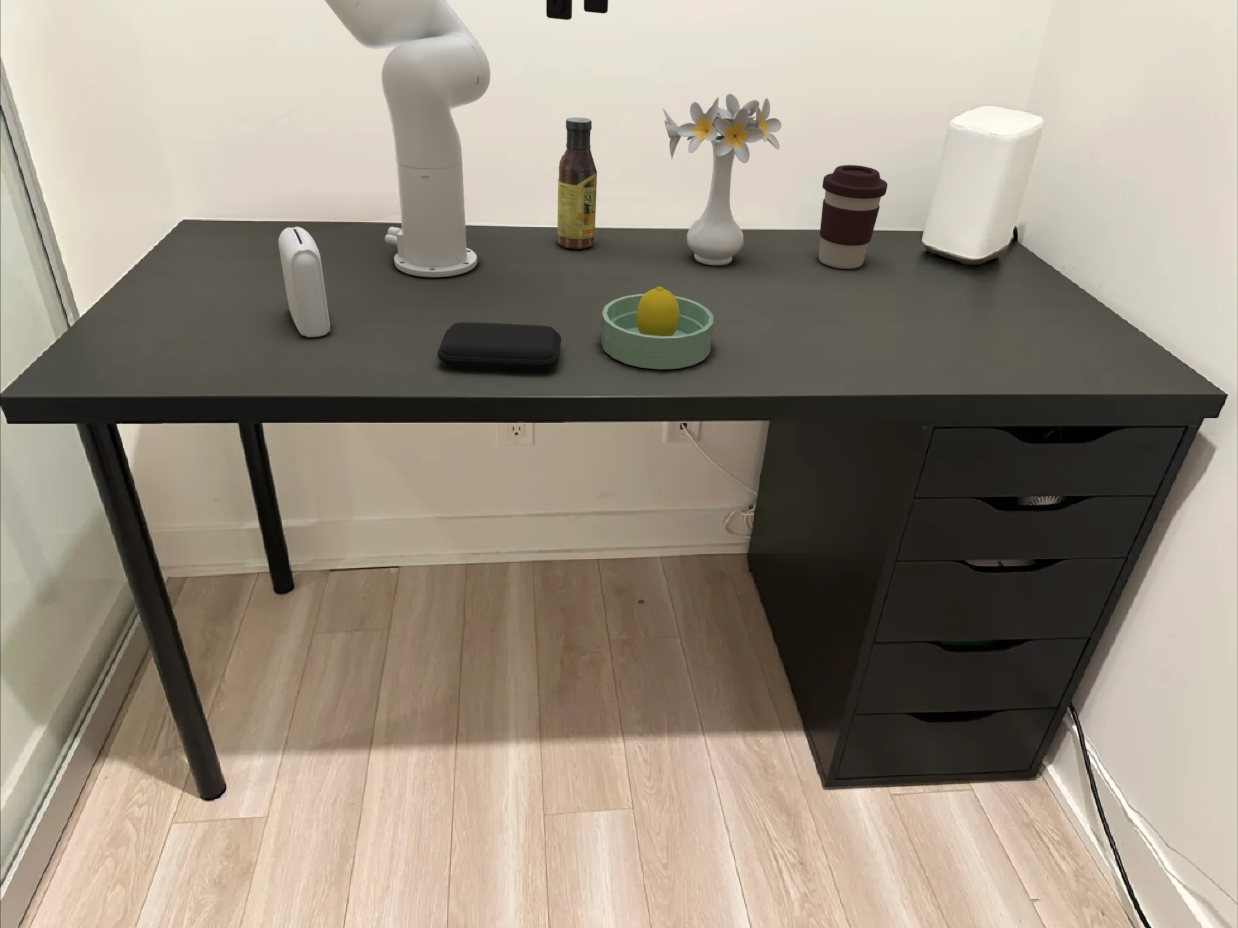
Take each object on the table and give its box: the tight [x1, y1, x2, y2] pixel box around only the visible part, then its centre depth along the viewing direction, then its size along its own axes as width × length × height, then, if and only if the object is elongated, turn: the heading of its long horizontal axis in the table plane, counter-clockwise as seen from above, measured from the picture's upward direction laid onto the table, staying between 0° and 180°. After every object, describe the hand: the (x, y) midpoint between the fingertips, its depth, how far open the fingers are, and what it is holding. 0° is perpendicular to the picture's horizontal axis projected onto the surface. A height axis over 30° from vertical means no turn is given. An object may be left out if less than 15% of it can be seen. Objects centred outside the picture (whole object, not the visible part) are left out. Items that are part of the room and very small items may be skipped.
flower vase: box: [662, 93, 783, 266], centre depth 138 cm, size 13×18×25 cm
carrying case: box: [436, 321, 562, 373], centre depth 111 cm, size 11×3×15 cm
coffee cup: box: [818, 164, 888, 270], centre depth 143 cm, size 10×10×15 cm
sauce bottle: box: [556, 117, 598, 250], centre depth 143 cm, size 6×6×20 cm
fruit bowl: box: [600, 293, 715, 370], centre depth 115 cm, size 14×14×4 cm
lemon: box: [636, 286, 680, 336], centre depth 114 cm, size 6×6×8 cm
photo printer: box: [277, 226, 331, 338], centre depth 114 cm, size 10×4×12 cm, turn 26°
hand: (577, 15), depth 110 cm, fingers open, 9 cm apart
